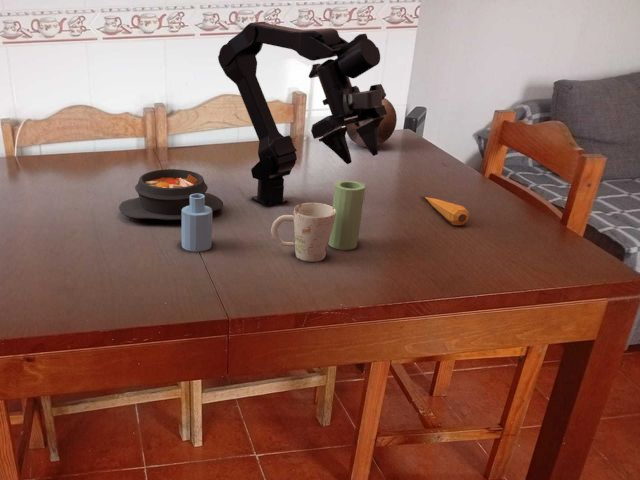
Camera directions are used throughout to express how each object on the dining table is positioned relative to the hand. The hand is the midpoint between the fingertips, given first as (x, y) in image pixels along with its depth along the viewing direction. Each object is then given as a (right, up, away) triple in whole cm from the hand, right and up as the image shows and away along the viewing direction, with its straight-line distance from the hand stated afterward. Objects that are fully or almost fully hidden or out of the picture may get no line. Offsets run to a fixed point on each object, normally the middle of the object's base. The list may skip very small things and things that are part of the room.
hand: (362, 159), depth 148 cm
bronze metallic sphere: (+19, +22, +66) cm, 72 cm away
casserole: (-41, -8, +18) cm, 45 cm away
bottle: (-35, -18, +1) cm, 40 cm away
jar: (-4, -18, +1) cm, 18 cm away
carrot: (+24, -8, +18) cm, 31 cm away
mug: (-14, -21, -3) cm, 26 cm away
